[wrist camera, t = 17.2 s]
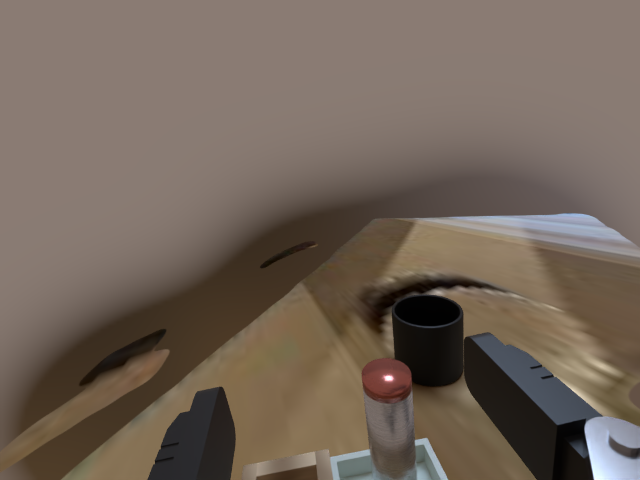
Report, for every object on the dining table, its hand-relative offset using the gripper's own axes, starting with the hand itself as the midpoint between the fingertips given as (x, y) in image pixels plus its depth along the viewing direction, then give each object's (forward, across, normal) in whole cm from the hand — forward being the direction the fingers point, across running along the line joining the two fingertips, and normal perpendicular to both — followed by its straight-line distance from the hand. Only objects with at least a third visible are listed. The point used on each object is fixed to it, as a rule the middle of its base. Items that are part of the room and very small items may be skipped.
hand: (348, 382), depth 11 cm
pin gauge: (+10, -4, +24) cm, 27 cm away
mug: (+30, -16, +26) cm, 43 cm away
